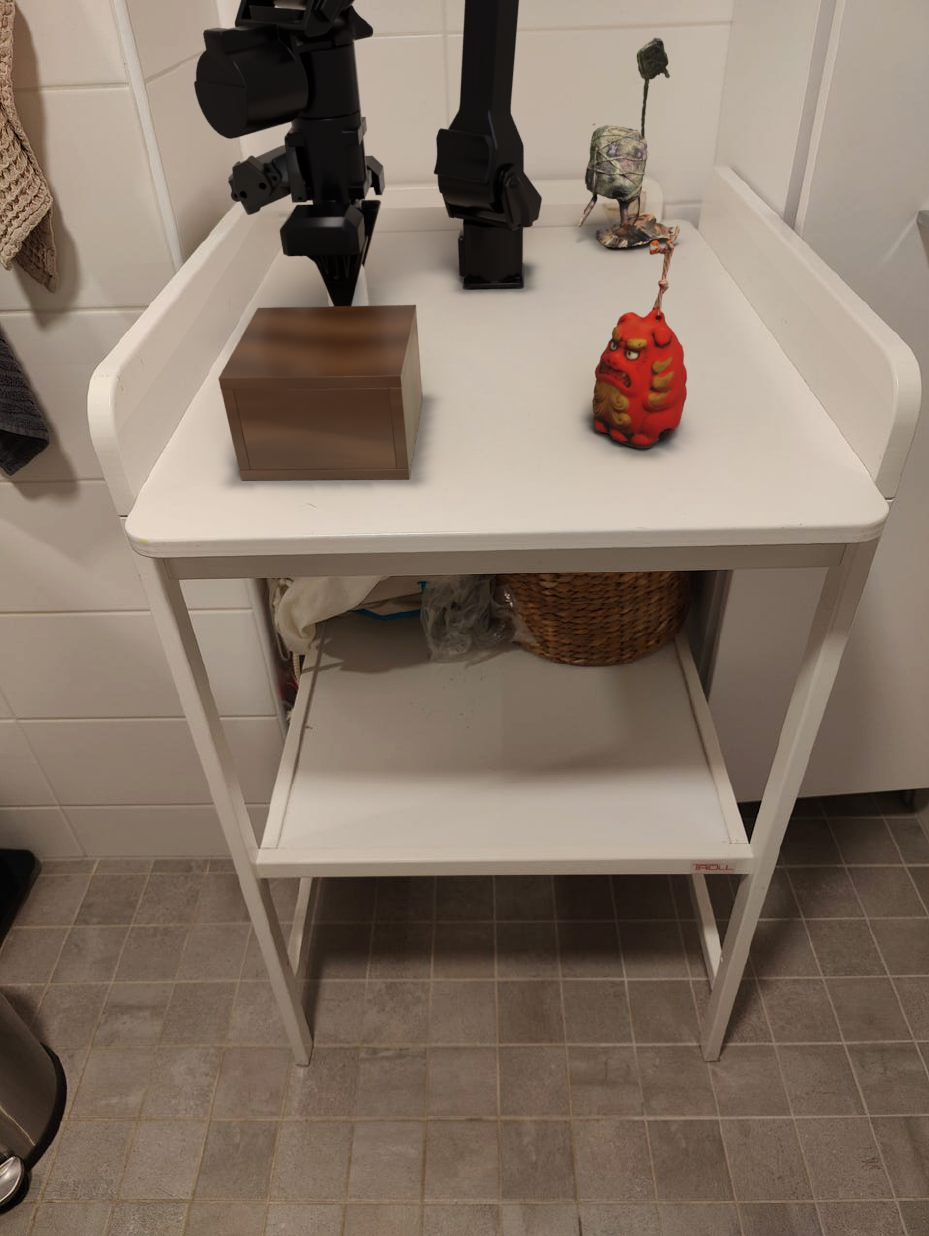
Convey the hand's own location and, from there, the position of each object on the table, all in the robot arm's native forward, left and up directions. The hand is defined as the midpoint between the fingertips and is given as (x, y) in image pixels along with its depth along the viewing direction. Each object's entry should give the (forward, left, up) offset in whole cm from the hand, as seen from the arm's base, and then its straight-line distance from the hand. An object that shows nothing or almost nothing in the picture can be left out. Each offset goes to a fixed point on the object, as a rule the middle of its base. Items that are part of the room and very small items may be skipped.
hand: (348, 301), depth 84 cm
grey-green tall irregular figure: (-28, -30, -5) cm, 41 cm away
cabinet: (-1, +17, -5) cm, 18 cm away
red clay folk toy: (-25, +16, -5) cm, 30 cm away
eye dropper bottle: (0, 0, -5) cm, 5 cm away
